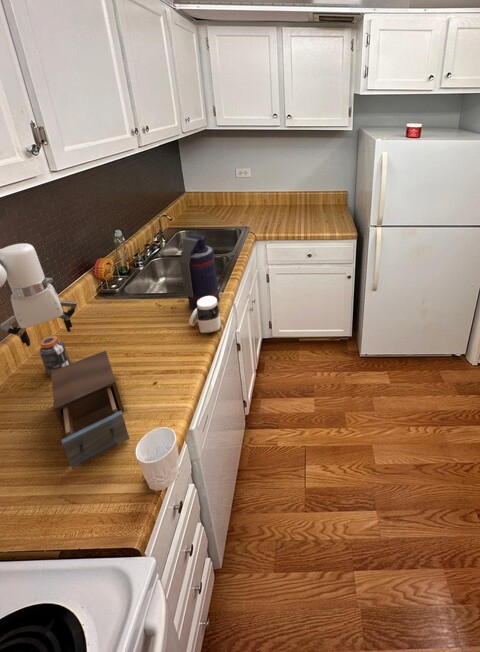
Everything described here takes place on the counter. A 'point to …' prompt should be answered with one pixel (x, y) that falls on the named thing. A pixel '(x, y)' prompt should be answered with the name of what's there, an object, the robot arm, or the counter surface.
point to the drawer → (92, 427)
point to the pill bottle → (53, 354)
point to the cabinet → (82, 383)
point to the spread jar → (206, 315)
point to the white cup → (158, 458)
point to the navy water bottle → (198, 269)
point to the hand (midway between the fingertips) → (49, 336)
